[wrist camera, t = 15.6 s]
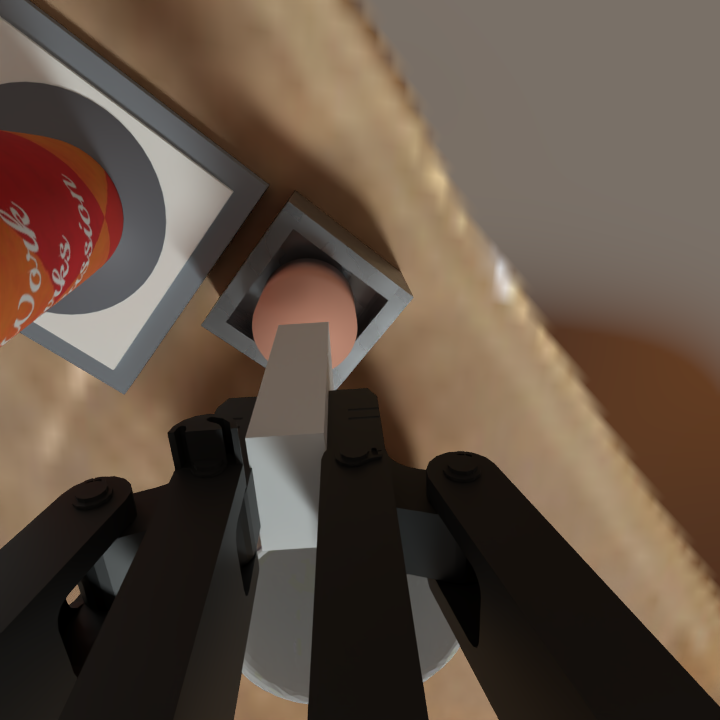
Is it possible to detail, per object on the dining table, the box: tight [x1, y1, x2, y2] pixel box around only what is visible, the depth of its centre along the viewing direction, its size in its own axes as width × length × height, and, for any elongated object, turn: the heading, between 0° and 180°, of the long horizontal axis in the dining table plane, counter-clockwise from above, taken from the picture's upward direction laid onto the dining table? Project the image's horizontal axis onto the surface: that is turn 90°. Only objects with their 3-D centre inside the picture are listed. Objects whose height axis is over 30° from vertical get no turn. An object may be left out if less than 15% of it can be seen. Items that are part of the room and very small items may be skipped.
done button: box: [252, 258, 357, 369], centre depth 21 cm, size 4×4×3 cm
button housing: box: [201, 190, 413, 390], centre depth 24 cm, size 6×6×4 cm
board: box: [0, 0, 269, 394], centre depth 23 cm, size 13×12×1 cm
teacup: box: [242, 533, 460, 704], centre depth 27 cm, size 14×11×8 cm
